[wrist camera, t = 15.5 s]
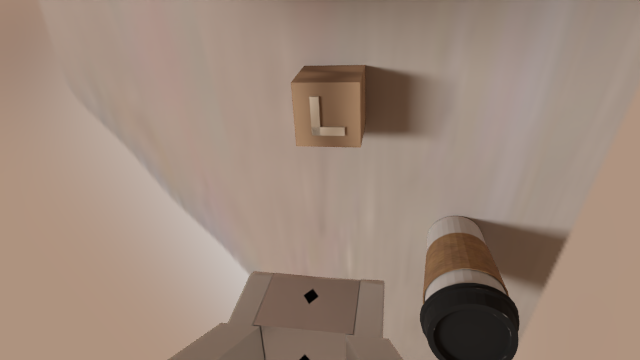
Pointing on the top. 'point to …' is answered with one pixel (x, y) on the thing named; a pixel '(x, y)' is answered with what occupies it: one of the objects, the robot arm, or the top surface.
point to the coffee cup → (465, 296)
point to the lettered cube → (329, 105)
